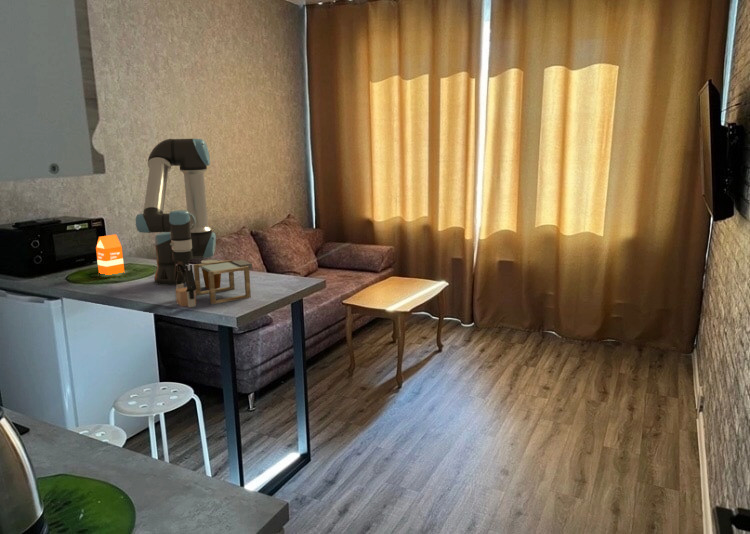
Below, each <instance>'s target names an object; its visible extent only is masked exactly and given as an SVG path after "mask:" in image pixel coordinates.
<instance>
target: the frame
mask: <svg viewBox="0 0 750 534" xmlns="http://www.w3.org/2000/svg"><path fill="white" fill-rule="evenodd" d="M231 261H234V260H233V259H227V260H221V261H219V262H212V263H204V264H201V263H196V264H193V275H194V280H195V284H196V290H195V291H196V296H202V294H203V295H207V294H209V302H210V303H209V304H211V305H214V304H215V305H216V304H220V303H227V302H231V301H238V300H237V299H239V300H243V299H244V298H245V299H250V298H252V296H251V295H252V293H251V292H252V291H251V278H250V277H251V275H250V270H249V267H248V266H245V267H240V268H232V269H225V270H218V271H210V272H208V277H209V289H207V290H202V289H201V277H200V268H201V266H205V265H212V264H220V263H227V262H230V263H231ZM242 270H243V273H244V274H243V276H244V292H245V293H244V294H243V295H236V296H233V297H232V296H231V297H225V298H220V299H216V293H220V292H225V291H231V290H235V287H236V286H235V276H234V275H235V274H234V272H242ZM227 273H228V282H229V283H228V284H229V286H227V287H219V288H216V289H215V286H214V274H221V275H222V274H227ZM249 297H250V298H249Z"/></svg>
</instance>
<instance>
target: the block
mask: <svg viewBox="0 0 750 534" xmlns="http://www.w3.org/2000/svg"><path fill="white" fill-rule="evenodd" d="M186 290H187V286H184V288H179V289H177V288H175V291H174V292H175V298H176V299H175V302H176V304H177V303H178V304H179V305H178V304H177V305H178V306H180V307H188V300H187V292H186ZM194 292H195V305H197V295H196V290H194Z"/></svg>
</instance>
